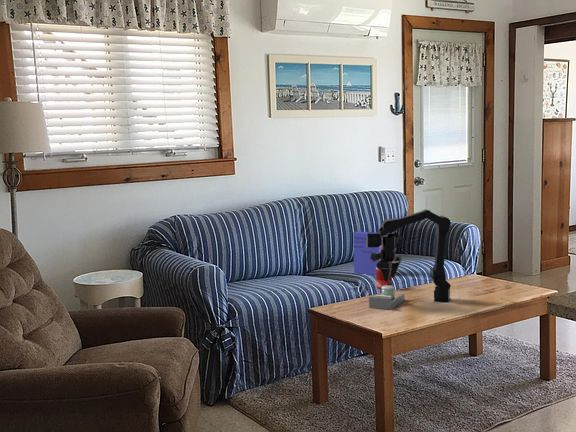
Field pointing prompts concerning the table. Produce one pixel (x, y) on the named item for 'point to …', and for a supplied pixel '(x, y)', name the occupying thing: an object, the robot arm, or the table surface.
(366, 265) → the cereal box
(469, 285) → the table surface
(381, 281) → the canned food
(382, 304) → the pusher lane
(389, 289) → the jar
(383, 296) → the plate
